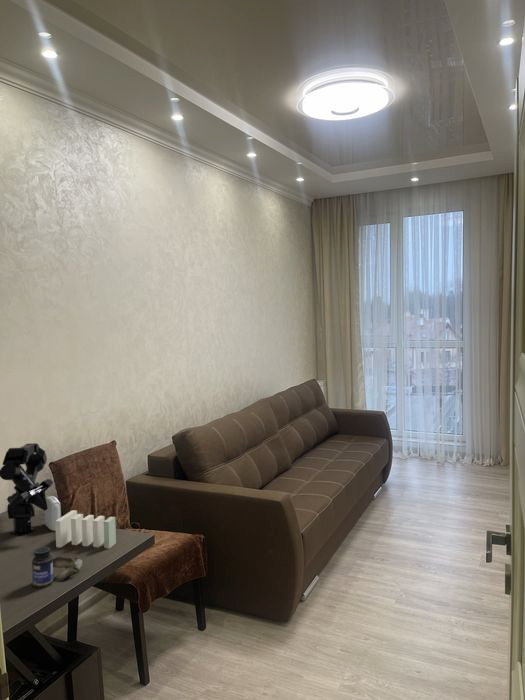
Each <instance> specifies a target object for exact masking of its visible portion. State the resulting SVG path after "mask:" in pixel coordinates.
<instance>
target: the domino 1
mask: <svg viewBox="0 0 525 700" xmlns="http://www.w3.org/2000/svg"><path fill="white" fill-rule="evenodd" d="M77 514H78V510H76V509H75V510H74V509H72V510H70V511H69V512H67V513H66V514H64V515H63V516H62V515H61V518H59V519H57V520H56V521H55V524H56V531H55V546H56V548H63V547H64V546H66V545H67V544H68V543H70V542H72V539H71V518H73V517H74V516H76V515H77Z"/></svg>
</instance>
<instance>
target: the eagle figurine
mask: <svg viewBox="0 0 525 700" xmlns="http://www.w3.org/2000/svg"><path fill="white" fill-rule="evenodd" d="M73 557H74V559H73V558H71V557H62V556H58V557H55V558H53V568H57V569H61V568H62V569H63V568H65V569H64V570H63V571H62V572H60V573H59V574H58V575H56V576H53V582H56V583H58V582H62V581H64V580H65V579H66V578H68V577H69V576H71V575H73V574H75V571H77V572H78V573H79V572H80V569H81V567H82V565H83V560H82V559H80V558H78V557H77V555H76V554H74V556H73Z"/></svg>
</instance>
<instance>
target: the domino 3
mask: <svg viewBox="0 0 525 700" xmlns="http://www.w3.org/2000/svg"><path fill="white" fill-rule="evenodd" d="M94 519H95V515H94V514H88V515H87V516H85V517H83V519H82V543H81V544H82V547H88V546H90V545H91V544H92V543H93V520H94Z"/></svg>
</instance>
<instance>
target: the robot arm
mask: <svg viewBox="0 0 525 700" xmlns="http://www.w3.org/2000/svg"><path fill="white" fill-rule="evenodd" d="M47 459H48V457H47V453H46V451H45V450H44V449H43V448H41V447H40V445H39V443H26V444H24V445H23V446H20V447H9V448H8V450H7V451H6V453H5V455H4V459H3V460H2V466H1V468H0V478H1V479H2V480H4V481H12V482H13V483H12V484H14V486H13V489H14V491H15V493H13V494H11V495H9V496H8V497H7V498H6V501H7V502H8V504H7V509H6V510H7V511H6V512H7V516H8V519H9V520H11V519H12V520H13V523H12V524H13V529H12V530H11V531H10V534H12V535H17V536H19V537H21V536H23V535H26V534H29V533H30V532H33V531H35V528H33V527H32V521H31V520H32V519H31V518H33V517H35V516H36V514H35V513H36V511H35V506H36V507H37V508H39V509H41V510H43V511H44V512H45V510H47V509H48V508H47V503H46V497H47V496H46V491H48V489H49V488H50V487H51V486H52V485H54V482H53V480H52V479H50V478H47V479H44V480H43V481H41V482H40V483H39V482H36V479H37V476H38V473H39V472H41V471H42V470H43V469H44V468H45V465H46V464H47ZM22 465H25V469H24V467H23V466H22Z"/></svg>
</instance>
